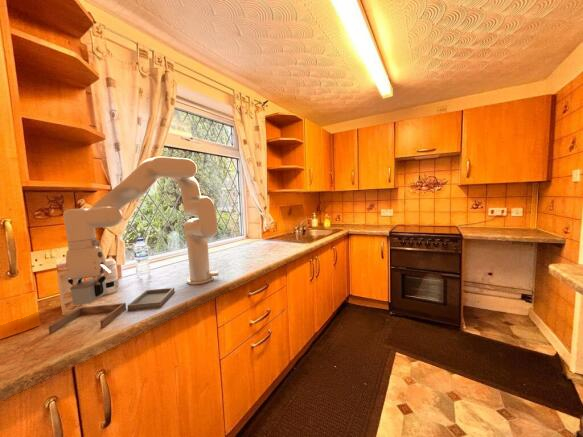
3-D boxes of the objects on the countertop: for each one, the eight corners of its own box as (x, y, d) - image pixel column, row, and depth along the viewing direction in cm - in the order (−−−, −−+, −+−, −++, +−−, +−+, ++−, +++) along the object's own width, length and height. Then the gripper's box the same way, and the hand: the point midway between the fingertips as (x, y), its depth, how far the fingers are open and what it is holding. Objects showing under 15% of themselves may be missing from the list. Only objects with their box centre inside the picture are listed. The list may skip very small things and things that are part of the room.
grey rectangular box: (107, 292, 88) (104, 276, 87) (90, 303, 79) (87, 286, 78) (91, 294, 87) (89, 278, 87) (72, 305, 78) (70, 287, 78)
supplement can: (94, 297, 105) (90, 263, 104) (99, 291, 112) (95, 260, 111) (117, 293, 109) (113, 260, 107) (120, 287, 116) (117, 257, 115)
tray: (174, 291, 107) (174, 287, 107) (160, 307, 91) (160, 302, 91) (146, 294, 105) (146, 290, 105) (127, 310, 90) (127, 305, 90)
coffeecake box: (87, 309, 92) (81, 260, 91) (61, 316, 87) (55, 264, 86) (84, 299, 103) (78, 255, 101) (61, 305, 98) (55, 258, 96)
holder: (126, 309, 91) (125, 302, 91) (103, 327, 78) (102, 320, 77) (80, 313, 89) (80, 307, 89) (49, 333, 75) (48, 326, 75)
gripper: (116, 240, 86) (123, 289, 88) (63, 244, 84) (71, 294, 86) (103, 244, 79) (110, 297, 80) (45, 249, 76) (54, 303, 78)
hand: (90, 295), depth 83 cm, fingers closed on grey rectangular box, 5 cm apart
